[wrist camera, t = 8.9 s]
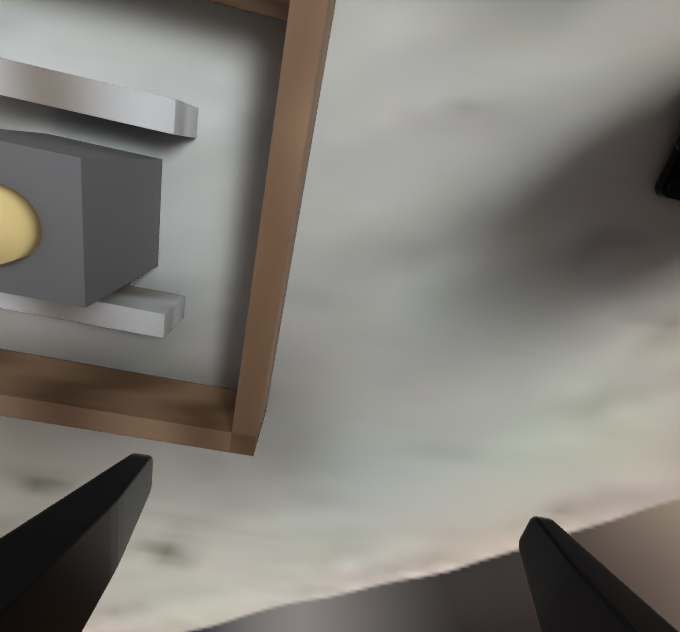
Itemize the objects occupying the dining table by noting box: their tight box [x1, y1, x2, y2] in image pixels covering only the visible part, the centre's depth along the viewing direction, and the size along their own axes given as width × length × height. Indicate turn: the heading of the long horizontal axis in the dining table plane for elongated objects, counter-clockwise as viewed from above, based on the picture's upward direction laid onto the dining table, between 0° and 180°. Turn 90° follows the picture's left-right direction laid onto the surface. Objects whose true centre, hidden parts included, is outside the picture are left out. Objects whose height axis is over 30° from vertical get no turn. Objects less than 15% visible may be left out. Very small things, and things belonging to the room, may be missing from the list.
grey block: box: [0, 129, 162, 308], centre depth 15 cm, size 5×5×7 cm
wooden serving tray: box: [0, 0, 336, 456], centre depth 16 cm, size 18×20×4 cm
